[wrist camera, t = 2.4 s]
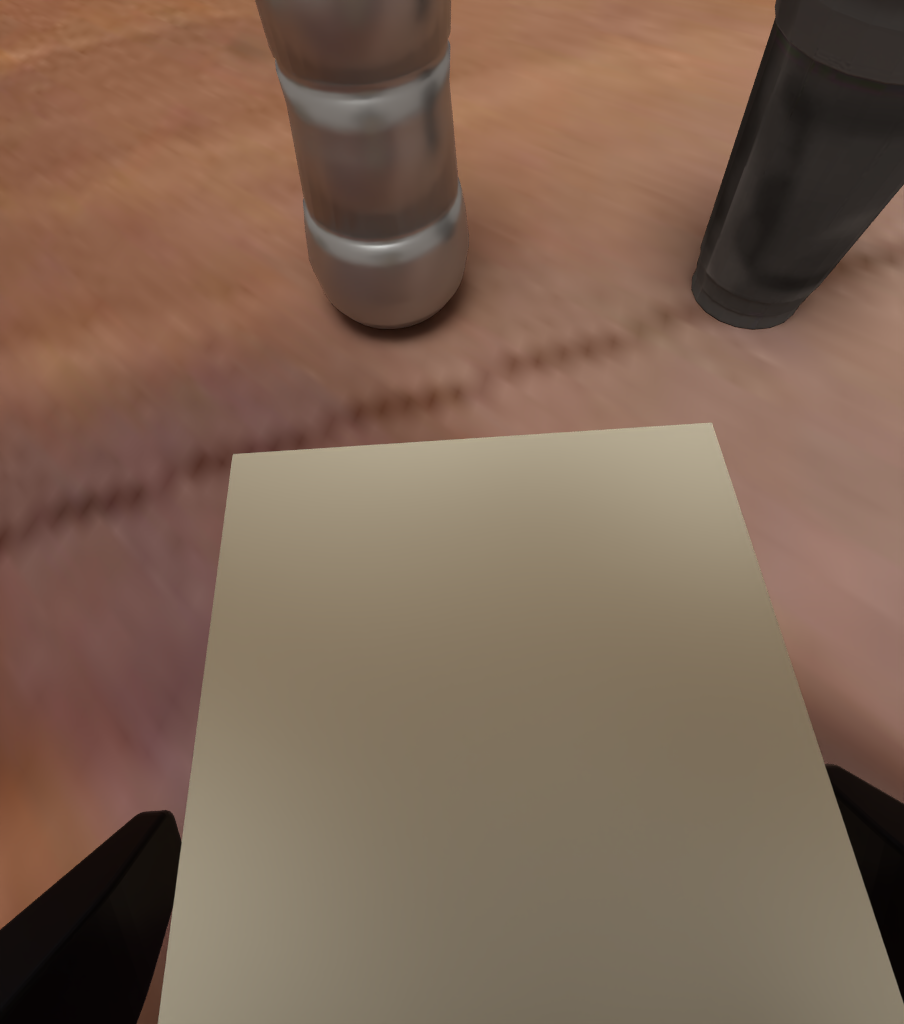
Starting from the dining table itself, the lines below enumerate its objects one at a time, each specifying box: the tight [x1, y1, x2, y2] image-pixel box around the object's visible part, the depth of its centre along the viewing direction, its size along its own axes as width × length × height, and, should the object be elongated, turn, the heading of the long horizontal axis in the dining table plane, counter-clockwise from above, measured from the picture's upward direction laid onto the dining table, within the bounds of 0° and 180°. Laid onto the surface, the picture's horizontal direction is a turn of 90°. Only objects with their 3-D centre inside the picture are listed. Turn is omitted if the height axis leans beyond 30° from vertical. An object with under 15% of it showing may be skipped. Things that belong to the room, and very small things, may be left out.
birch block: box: [158, 423, 904, 1024], centre depth 11 cm, size 5×5×13 cm
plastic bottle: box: [255, 0, 469, 329], centre depth 16 cm, size 6×7×20 cm
